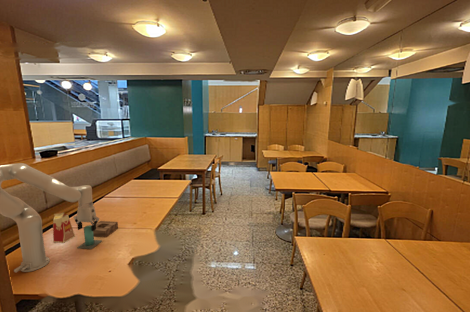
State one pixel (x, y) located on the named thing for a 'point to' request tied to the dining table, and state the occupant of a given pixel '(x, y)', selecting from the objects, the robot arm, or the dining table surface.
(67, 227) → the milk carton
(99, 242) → the mat
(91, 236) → the peg
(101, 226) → the pocket block
